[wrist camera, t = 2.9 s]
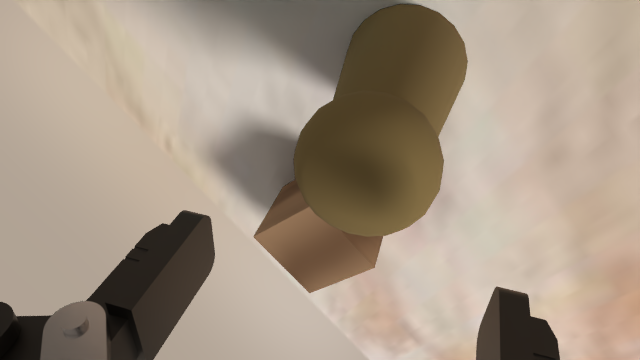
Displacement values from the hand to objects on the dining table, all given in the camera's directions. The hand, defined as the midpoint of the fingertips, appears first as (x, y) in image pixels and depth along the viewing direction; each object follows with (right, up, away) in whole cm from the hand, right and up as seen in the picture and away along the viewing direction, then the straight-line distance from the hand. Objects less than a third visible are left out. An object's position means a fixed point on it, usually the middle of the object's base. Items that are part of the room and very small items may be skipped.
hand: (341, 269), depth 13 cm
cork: (+4, +8, +11) cm, 14 cm away
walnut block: (0, +1, +17) cm, 17 cm away
